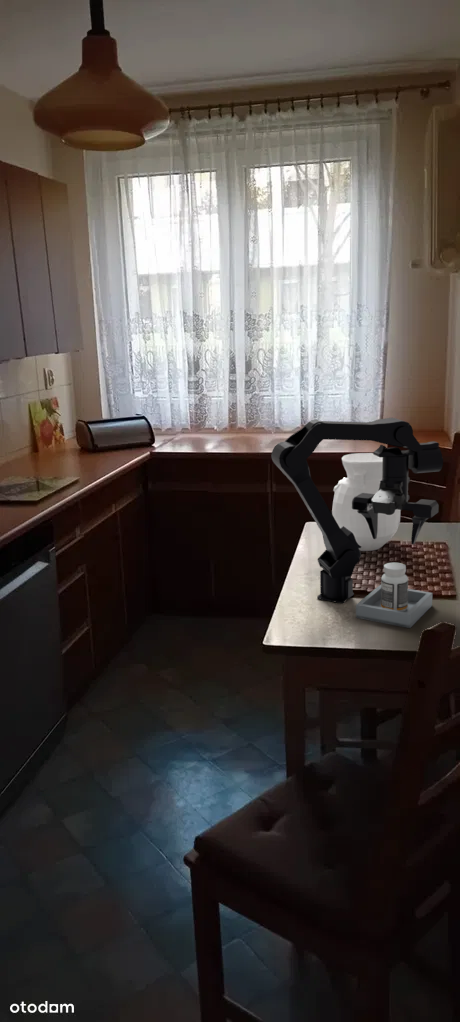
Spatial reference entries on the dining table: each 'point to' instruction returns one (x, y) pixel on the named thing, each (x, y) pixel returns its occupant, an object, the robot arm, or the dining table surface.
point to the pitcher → (360, 479)
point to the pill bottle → (394, 587)
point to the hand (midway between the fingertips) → (393, 541)
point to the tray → (373, 611)
